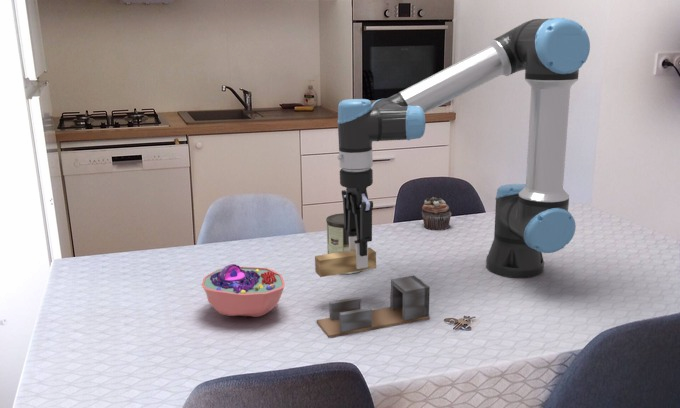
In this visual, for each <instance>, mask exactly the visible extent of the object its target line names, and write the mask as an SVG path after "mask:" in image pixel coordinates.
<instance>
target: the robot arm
mask: <svg viewBox="0 0 680 408" xmlns="http://www.w3.org/2000/svg"><path fill="white" fill-rule="evenodd" d="M590 51H591V42H590V37H589V35H588V33H587V30H586V29H585V28H584V27H583V26H582V25H581V24H580V22H577V21H575V20H574V19H573V20H572V19H569V18H565V17H553V18H535V19H534V18H533V19H531V20H527V21H525V22H523V23H521V24H519V25H518V26H515V27H514V28H512V29H510V30H508V31H506V32H504V33H502V34H501V35H499V36H497V37H496V38H494V39H492V40H490V42H489V45H488V46H487V47H485V48H483V49H482V50H480V51H477V52H475V53H474V54H471V55H469V56H468V57H466V58H464V59H461V60H460V61H458V62H456V63H454V64H451V65H450V66H448V67H446V68H443V69H442V70H440V71H438V72H436V73H434V74H432V75H431V76H428V77H426V78H424V79H422V80H420V81H419V82H417V83H415V84H413V85H411V86H409V87H407V88H405V89H403V90H401V91H399V92H398V93H395V94H392V95H391V96H389V97H387V98H380V99H377V100H375V101H373V102H371V100H370V99H366V98H353V99H352V98H348V99H343V100H341V101H340V102H338V103H339V104H338V106H337V121H336V122H337V132H338V134H337V135H338V151H339V152H338V154H339V155H337V159H338V160H339V161H338V162H339V168H341V169H340V170H339V184H340V186H342V188H345V189H344V190H343V189H342V190H341V197H342V204H343V205H342V207H343V209H342V210H343V213H344V229H345V231H347V234H348V236H349V251H351V250H356V268H357V269H361V268H367V267H368V248H369V247H368V243H370V242H372V241H373V208H374V201H373V200H369V196H368V192H367V188H368V187H370V186H372V185H373V183H374V182H373V181H374V179H373V177H374V176H373V175H374V173H373V172H374V171H373V168H372V167H373V165H374V164H373V163H374V162H373V161H374V160H373V159H374V158H373V142H384V141H385V142H387V141H411V140H417V139H418V140H419V139H421V138H422V137H423V136H424V134H425V132H426V115H425V114H427V113H429V112H431V111H433V110H435V109H436V108H440V106H442V105H444V104H446V103H448V102H450V101H452V100H454V99H456V98H458V97H461V96H462V95H465V94H466V93H468V92H470V91H472V90H474V89H476V88H479V87H480V86H483V85H484V84H486V83H488V82H490V81H493V80H494V79H496V78H498V77H500V76H505V77H509V76H511V75H513V74H515V73H518V72H521V71H524V80H525V81H526V83H528V85H529V86H530V103H529V104H530V105H529V120H528V138H527V139H528V142H527V154H526V155H527V158H526V175H525V176H526V177H525V183H512V184H503V185H499V187H498V188H497V189H496V196H495V209H494V210H495V213H494V215H495V216H494V231H493V232H494V234H493V235H494V236H493V241H492V243H491V246H490V248H489V251H488V254H487V255H486V259H485V267H486V268H487V270H488V271H490V272H491V273H493V274H496V275H499V276H503V277H508V278H515V279H517V278H518V279H519V278H521V279H524V278H525V279H526V278H533V277H534V278H535V277H537V276H540V275H542V274H543V273H544V271H545V261H544V257H543V254H553V253H556V252H558V251H561V250H562V249H564V248H565V246H567V245H568V244H569V243H570V242H572V239H573V238H574V235H575V234H576V228H577V227H576V225H577V224H576V220H575V218H574V216H573V215H572V213H571V212H570V211H569V202H570V194H568V193H567V191H565V190H564V181H565V180H564V177H565V168H566V167H565V165H566V163H565V162H566V153H567V152H566V151H567V139H568V137H567V136H568V124H569V112H570V111H569V109H570V108H569V107H570V98H571V88H572V86H573V85H574V84H575V83H577V82H578V81H579V72H580V69H581V68H582V66H583V65H584V64H585V63H586V62H587V61H588V57H589V55H590Z"/></svg>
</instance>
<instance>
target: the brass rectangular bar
mask: <svg viewBox="0 0 680 408" xmlns="http://www.w3.org/2000/svg"><path fill="white" fill-rule="evenodd" d="M314 263H315V264H314V266H315V267H314V269H315V273H316V274H317V275H318V276H319V277H320V278H323V277H329V276H337V275H343V274H342V273H349V272H355V271H361V270H362V271H367V270H372V269H376V268H377V251H375V250H374V249H372V248H371V247H368V267H367V268H361V269H357V268H356V250H351V251H344V252H338V253H331V254H327V253H326V254H325V253H324V254H318V255H314ZM362 271H361V272H362Z"/></svg>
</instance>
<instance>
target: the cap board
mask: <svg viewBox="0 0 680 408" xmlns="http://www.w3.org/2000/svg"><path fill="white" fill-rule="evenodd" d="M389 298H390V301H389V302H390V304H389V305H390V306H387V307H384V308H383V307H382V308H376V309H372V308H370V307H366V308H365V307H364V308H362V307H361V304H362V303H361V302H362V301H361V297H359V296H355V297H349V298H344V299H338V300H333V301H332V300H331V301H329V307H328V308H329V317H326V318H320V319H317V320H316V324H317V325H318V326H319V327H320V329H321V330H322V332H324V334H325V335H326V336H327V337H328V338H329V339H330V338H336V337H341V336H348V335H353V334H357V333H362V332H368V331H374V330H377V329H383V328H388V327H394V326H398V325H399V326H400V325H405V324H410V323H416V322H421V321H425V320H426V321H427V320H430V286H429V285H428V284H426V283H425V282H424V281H422V280H421V279H419V278H418V277H417V276H416V275H411V276H410V275H409V276H404V277H398V278H397V277H396V278H392V279H390V297H389Z"/></svg>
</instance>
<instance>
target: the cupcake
mask: <svg viewBox="0 0 680 408" xmlns="http://www.w3.org/2000/svg"><path fill="white" fill-rule="evenodd" d="M421 214H422V220H423V226H424V228H425V229H427V230H429V231H430V230H431V231H444V230H448V229H449V227H450V221H451V216H452V212H451V211H450V205H448V204H447V203H446V201H445V200H443V198H442V197H440V196H439V197H437V196H436V195H433V196H432V197H431V198H429V197H428V198H425V199H424V204H423V205H422V207H421Z"/></svg>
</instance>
